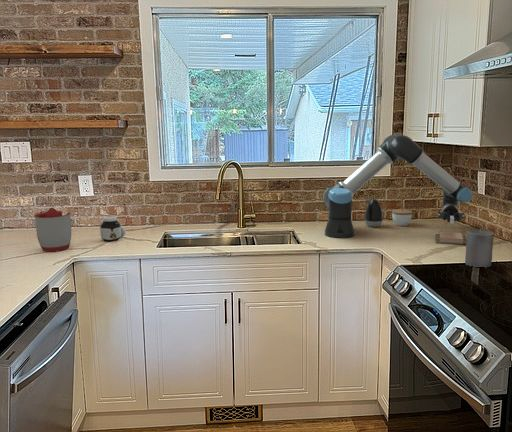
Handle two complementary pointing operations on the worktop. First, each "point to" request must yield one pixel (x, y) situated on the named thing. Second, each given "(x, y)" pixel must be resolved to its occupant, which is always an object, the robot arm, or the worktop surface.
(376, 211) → the black rounded cone
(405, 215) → the lidded jar
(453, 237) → the tile
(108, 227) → the spread jar
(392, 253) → the worktop surface
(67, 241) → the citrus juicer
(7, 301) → the worktop surface
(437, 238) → the board
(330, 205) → the robot arm
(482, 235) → the pillar candle
